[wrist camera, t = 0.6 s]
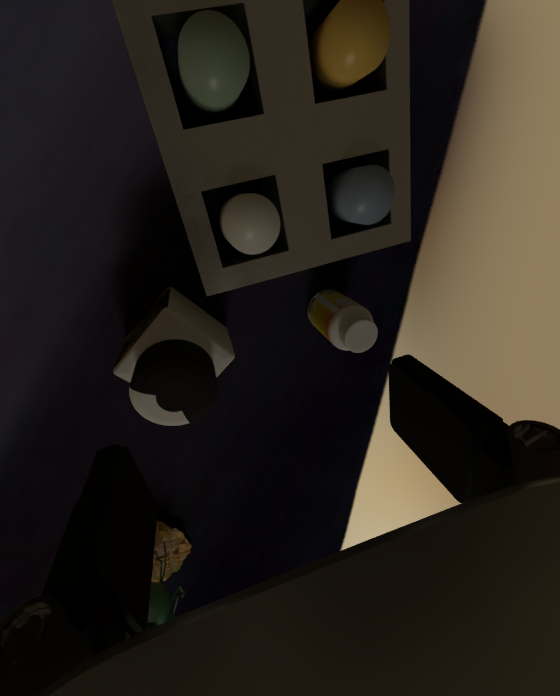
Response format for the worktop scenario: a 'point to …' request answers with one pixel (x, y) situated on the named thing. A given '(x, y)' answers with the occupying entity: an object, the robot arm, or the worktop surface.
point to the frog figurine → (165, 572)
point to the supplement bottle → (342, 321)
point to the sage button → (212, 61)
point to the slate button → (361, 194)
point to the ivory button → (249, 223)
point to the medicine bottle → (174, 361)
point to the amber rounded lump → (350, 43)
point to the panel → (277, 134)
